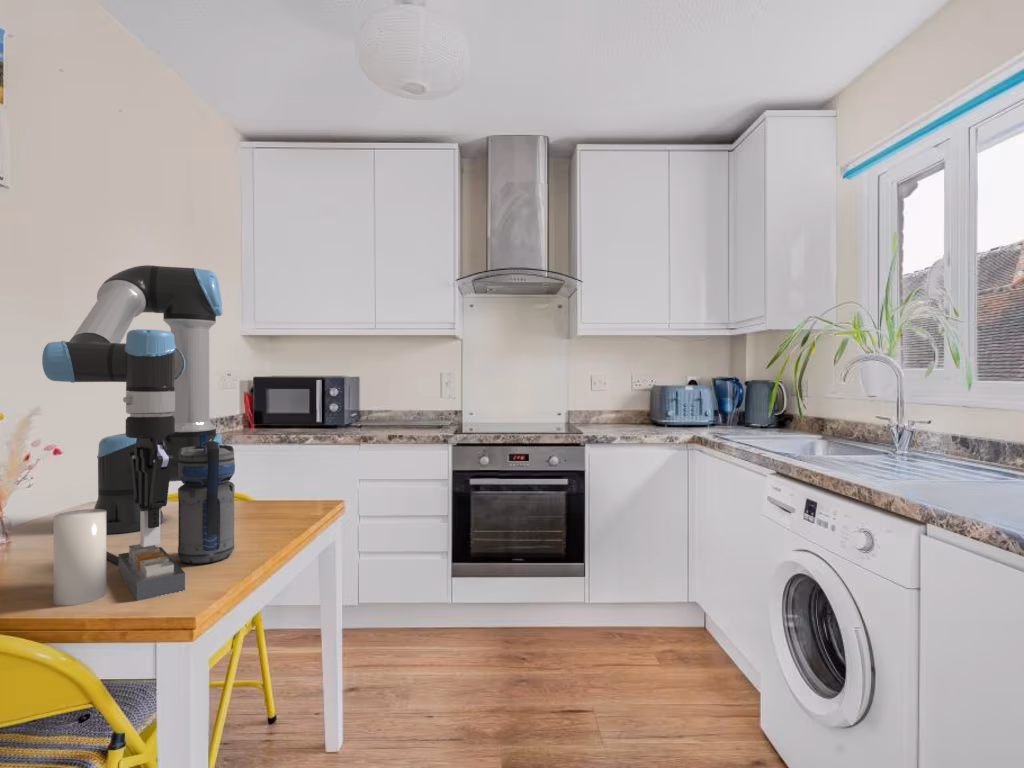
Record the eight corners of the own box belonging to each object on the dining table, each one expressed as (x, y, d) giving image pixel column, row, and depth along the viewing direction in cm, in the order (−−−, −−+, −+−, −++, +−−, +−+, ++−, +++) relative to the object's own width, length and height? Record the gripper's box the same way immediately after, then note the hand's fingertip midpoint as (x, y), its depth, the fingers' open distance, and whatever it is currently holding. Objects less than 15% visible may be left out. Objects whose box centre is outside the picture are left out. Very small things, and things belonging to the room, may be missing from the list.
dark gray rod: (96, 555, 117) (96, 549, 117) (103, 553, 118) (103, 548, 118) (117, 566, 110) (117, 559, 110) (124, 564, 111) (124, 558, 111)
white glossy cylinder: (47, 599, 93) (47, 514, 93) (97, 586, 99) (97, 507, 99) (61, 609, 89) (61, 521, 89) (113, 595, 95) (113, 512, 95)
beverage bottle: (183, 573, 106) (184, 440, 106) (174, 555, 117) (174, 435, 117) (242, 562, 113) (242, 437, 112) (227, 547, 123) (228, 432, 123)
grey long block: (118, 572, 108) (118, 546, 108) (161, 564, 112) (161, 539, 112) (136, 603, 93) (136, 573, 93) (185, 592, 98) (185, 564, 98)
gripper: (112, 414, 103) (112, 543, 103) (142, 417, 96) (142, 556, 96) (157, 412, 109) (157, 534, 110) (189, 415, 102) (188, 546, 102)
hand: (150, 544), depth 103 cm, fingers closed
